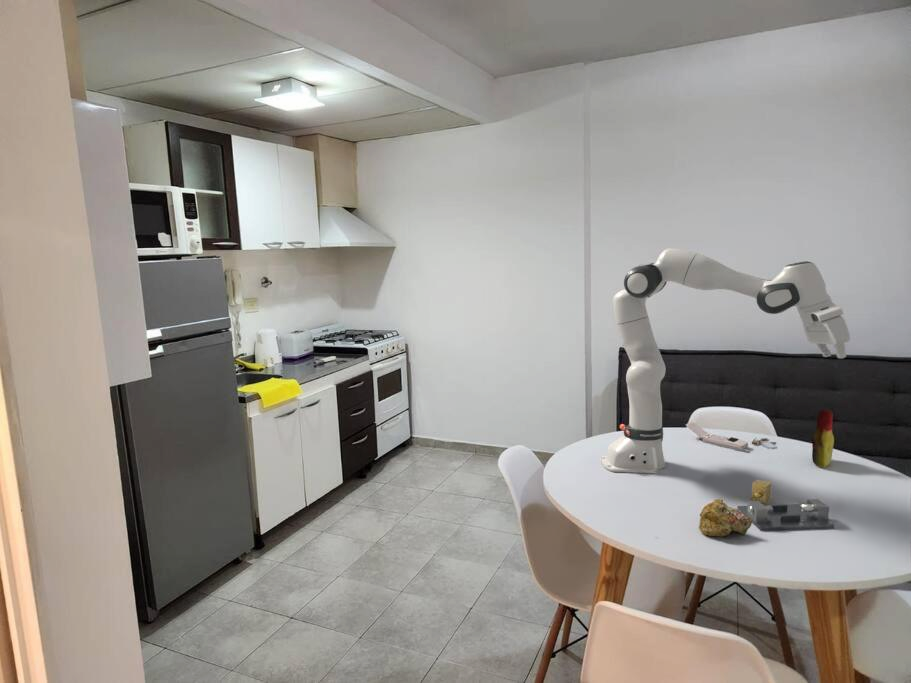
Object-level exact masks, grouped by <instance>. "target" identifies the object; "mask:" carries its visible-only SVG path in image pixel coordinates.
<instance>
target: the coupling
mask: <svg viewBox="0 0 911 683" xmlns="http://www.w3.org/2000/svg"><path fill="white" fill-rule="evenodd" d="M772 484H773V483H772V482H770V481H765V480H763V479H762V480H761V479H756V480H755V481H753V482H752V484H751V501H759V502H760V503H761V504H762V505H767V504H768V503H769V502H770V501H771V499H772V486H773V485H772Z"/></svg>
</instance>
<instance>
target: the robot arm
mask: <svg viewBox="0 0 911 683" xmlns="http://www.w3.org/2000/svg"><path fill="white" fill-rule="evenodd" d="M667 282H673V283H677V284H679V285H682V286H685V287H688V288H690V289H694V290H695V289H696V290H701V291H712V290H713V291H714V290H727V291H732V292H734V293H735V292H736V293H739V294H741V295H744V296H748V297H751V298H755V299H756V305H757V306H758V308H759V309H760V310H761V311H763V312H765V313H766V314H769V315H770V314H771V315H778V314H781V313H783V312H785V311H787V310H788V309H790V308H792V307H796V308H797V312H798V315H799V316H800V319H801V322H802V326H803V329H804V333H805V335H806V338H807V341H808V342H809V344H816V346H817V349H819V350H820V352H821V353H822V354H821V355H822V357H824V358H829V357H832V352H831V349H829V347H828V346H827V345H833V346H834V348H835V354H836V358H837V359H845V358H846V357H847V354H846V350H845V349H846V348H845V344H846V343H848V342H849V341H851V340H850V339H851V336H850V331H849V329H848V326H847V323H846V320H845V319H844V317H843V315H844V310H843V308H842V307H840V306H838V305H837V304H835V303H834V302H833V300H832V298H831V297H830V295H829V293H828V292H827V289H826V287H827V286H826V283H825V282H826V281H825V280H824V278H823V276H822V274H821V271H820V270H819V267H818V266H817V265H816V263H814V262H811V261H806V260H805V261H800V262H793V263H788V264H787V265H785V266H784V267H783V269H782V270H781V271H780V272H779V273H778V274H777V275H776V276H775V277H774V278H772V279H763V278H759V277H756V276H753V275H751V274H748V273H747V274H746V273H743V272H741V271H736V270H734V269H732V268H730V267H728V266H727V265H724V264H723V263H720V261H717V260H715V259H713V258H710V257H709V256H706V255H705V254H701V253H698V252H694V251H691V250H687V249H681V248H675V247H674V248H673V247H669V248H666V249H664V250H663V251H661V253H660V254H659V256H658V257H657V259H656V262H655V263H654V262H648V263H642V264H639V265H638V266H635V267H633V268H631V269H630V270H629V271H628V272H626V274H625V276H624V280H623V286H624V289H622V290H619V291H618V292H616V293H615V295H614V296H613V298H612V308H613V314H614V315H613V316H614V319H615V325H616V328H617V331H618V335H619V338H620V342H621V346H622V347H623V348H624V350H625V352H626V354H627V356H628V359H629V361H630V366H628V369H627V371H626V374H625V381H626V388H627V394H628V395H627V396H628V401H629V404H628V405H629V411H628V412H629V417H628V418H629V421H628V422H629V423H628V425H626V424H623V423H621V424H620V425H619V429H620V430H621V431H623V435H621V436H620V437H618V438H617V439H616V440H614V441H612V442H611V443H610V444H609V445H608V447H607V452H606V454H605V455H604V454H603V455H602V456H601V457H600V463H601V465H602V466H603V467H604V468H605V469H606V470H608V471H610V472H613V473H614V472H615V473H635V474H637V473H641V474H656V473H657V472H659V471H660V470H662V469H664V468H665V467H666V466H667V464H666V461H665V456H664V451H663V440H664V428H663V404H662V397H661V396H662V395H661V382H662V380H663V379H664V378H665V375H666V370H667V369H666V364H665V362H664V360H663V357H662V354H661V352H660V349H659V346H658V344H657V342H656V339H655V337H654V333H653V330H652V325H651V321H650V318H649V315H648V311H647V306H646V301H647V299H649V298H650V297H652V296H654V295H656V294H657V293H659V292H661V291H662V290H663V289H664V288H665V286H666V285H667Z"/></svg>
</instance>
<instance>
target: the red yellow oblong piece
mask: <svg viewBox="0 0 911 683" xmlns="http://www.w3.org/2000/svg"><path fill="white" fill-rule="evenodd" d="M833 417H834V413H833V412H832V411H831V410H830V409H828V408H821V409H820V410H819V411H818V416H817V419H816V420H817V421H816V431H814V434H813V436H812V443H811V444H812V446H811V448H812V453H811V459H812V462H813V464H814V465H815V466H816V467H818V468H825V467H827V466H829V465H830V463H831V461H832V457H833V451H834V445H835V438H834V437H835V436H834V434H833V419H834V418H833Z"/></svg>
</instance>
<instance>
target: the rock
mask: <svg viewBox="0 0 911 683" xmlns="http://www.w3.org/2000/svg"><path fill="white" fill-rule="evenodd" d="M699 517H700V518H699V525H698V529H699V530H700V532H701V533H702V534H703V535H704V536H711V537H721V538H722V537H727V536H729V535H730V533H731V531H732V532H733V531H734V532H736V533H738V534H741V535H746V533H747V532H748V530H749V529H750V528H751V527H752V525H753V523H752V520H751V519H750V518H749V517H747V516H746V515H744V514H742V513H741V512H740V511H739V510H738V509H737V508H734V507H731V506H728V505H727V503H725V502H724V499H723V498H717V499H715V500H714V501H712V502H710V503H707V504H706V505H704V507H703V508H702V510H701V512H700V514H699Z"/></svg>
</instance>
